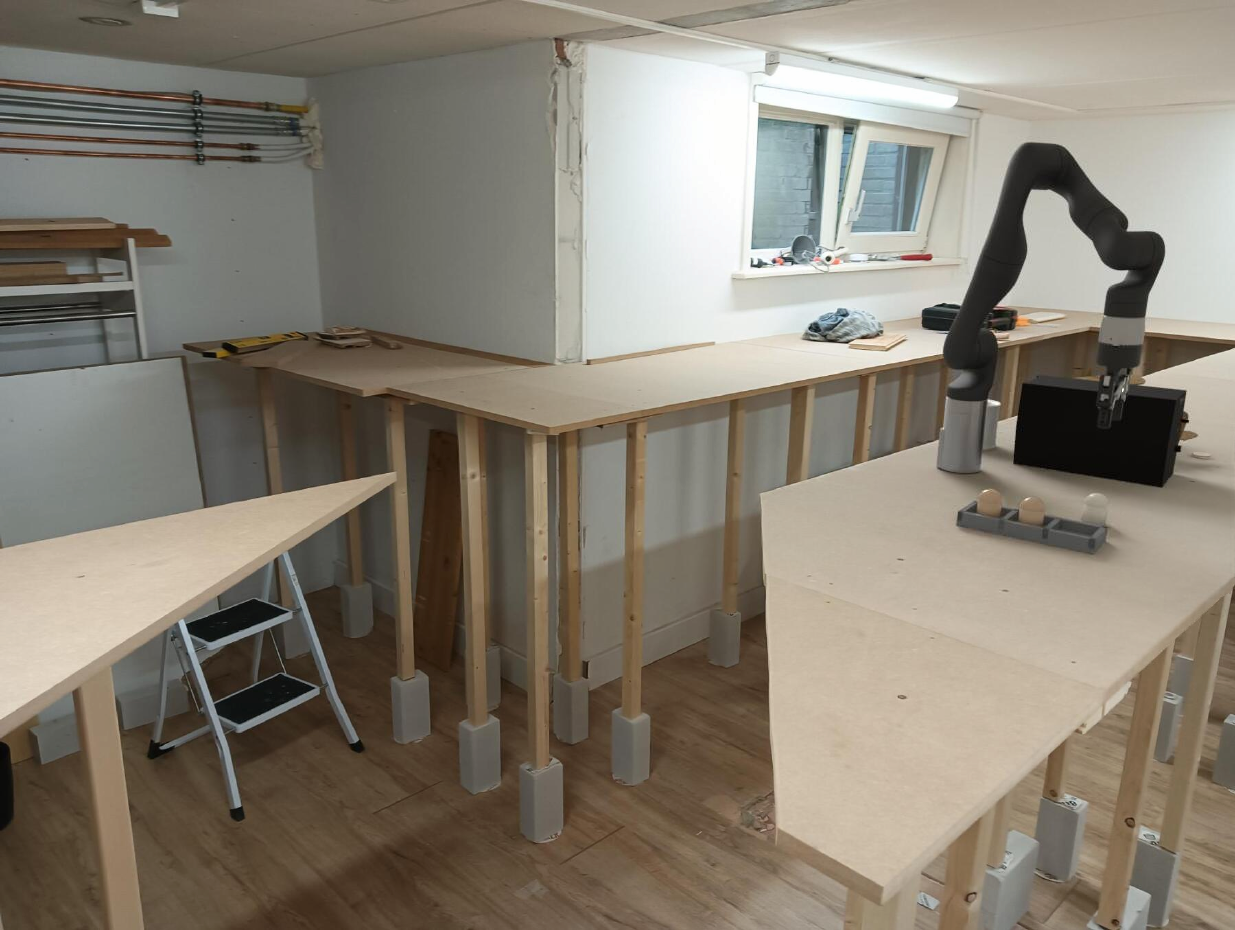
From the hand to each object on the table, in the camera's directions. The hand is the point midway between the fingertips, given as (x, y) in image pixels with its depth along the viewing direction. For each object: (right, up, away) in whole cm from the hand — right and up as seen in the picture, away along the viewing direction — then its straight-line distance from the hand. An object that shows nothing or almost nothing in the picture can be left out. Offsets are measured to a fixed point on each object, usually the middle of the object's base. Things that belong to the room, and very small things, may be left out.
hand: (1108, 424), depth 182 cm
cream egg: (0, -19, +5) cm, 20 cm away
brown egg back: (-22, -19, +5) cm, 29 cm away
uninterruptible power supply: (+19, -9, +43) cm, 48 cm away
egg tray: (-15, -21, 0) cm, 26 cm away
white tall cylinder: (-1, -3, +65) cm, 65 cm away
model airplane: (+35, -4, +61) cm, 71 cm away
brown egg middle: (-15, -20, 0) cm, 25 cm away
